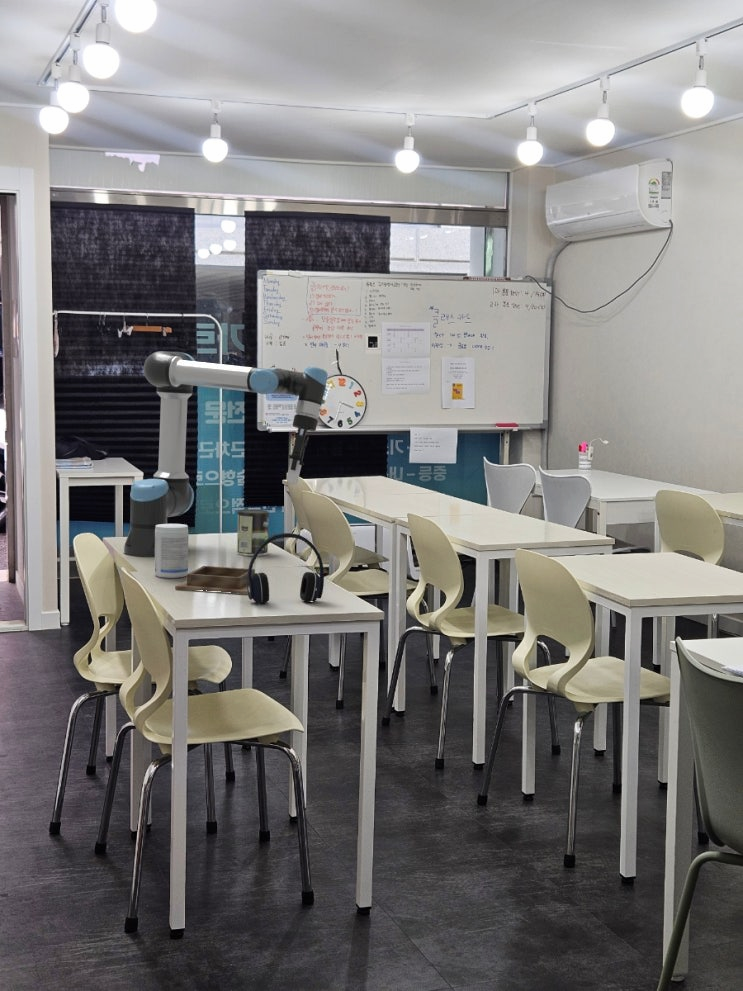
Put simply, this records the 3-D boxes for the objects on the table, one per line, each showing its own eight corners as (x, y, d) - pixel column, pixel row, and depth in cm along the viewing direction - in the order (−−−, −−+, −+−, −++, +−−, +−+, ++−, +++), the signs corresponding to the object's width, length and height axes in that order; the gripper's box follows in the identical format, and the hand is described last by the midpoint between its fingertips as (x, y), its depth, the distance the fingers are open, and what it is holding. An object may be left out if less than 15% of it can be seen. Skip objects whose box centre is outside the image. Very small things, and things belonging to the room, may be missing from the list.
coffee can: (269, 552, 392) (270, 510, 390) (265, 556, 382) (267, 513, 380) (238, 550, 392) (239, 508, 391) (234, 555, 382) (235, 512, 380)
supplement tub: (194, 576, 341) (196, 525, 340) (171, 580, 334) (172, 528, 332) (170, 571, 347) (171, 522, 345) (147, 575, 339) (148, 524, 338)
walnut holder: (175, 589, 319) (175, 575, 319) (197, 577, 339) (198, 563, 339) (246, 594, 316) (247, 580, 316) (265, 582, 336) (265, 568, 336)
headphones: (318, 599, 315) (320, 531, 313) (325, 604, 308) (327, 535, 307) (244, 600, 309) (246, 531, 307) (250, 606, 302) (252, 535, 300)
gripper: (317, 413, 356) (301, 482, 355) (319, 424, 381) (305, 488, 380) (293, 408, 356) (277, 476, 355) (296, 419, 381) (282, 483, 380)
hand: (291, 482), depth 367 cm, fingers open, 13 cm apart
